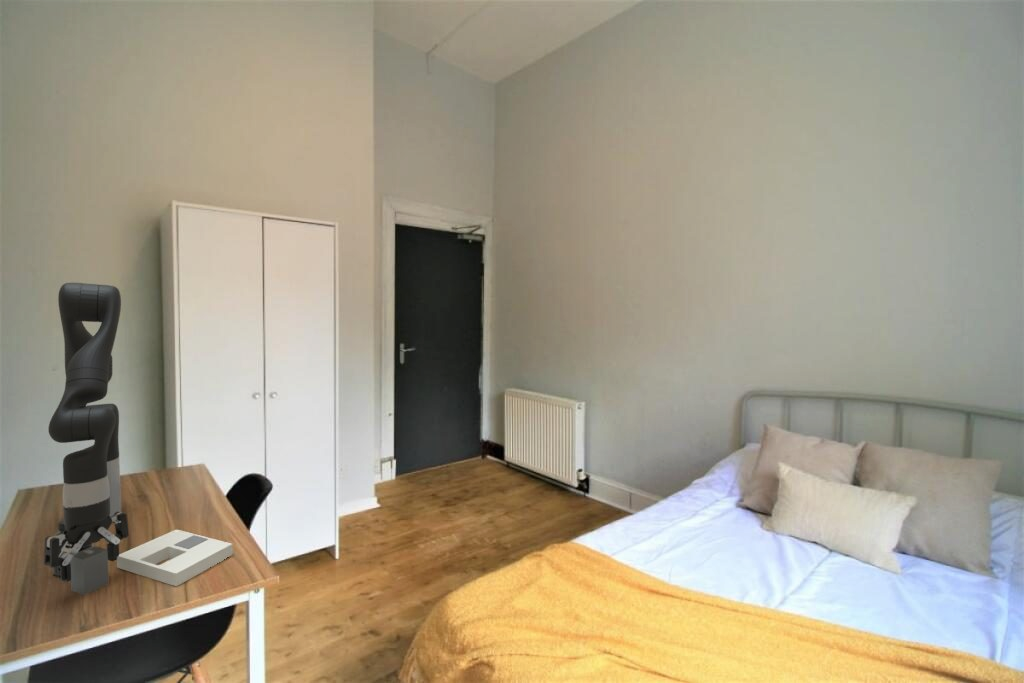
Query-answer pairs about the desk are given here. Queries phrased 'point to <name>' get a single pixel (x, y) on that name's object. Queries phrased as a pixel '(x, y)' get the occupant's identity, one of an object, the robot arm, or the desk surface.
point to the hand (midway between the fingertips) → (89, 570)
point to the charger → (89, 570)
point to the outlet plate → (175, 557)
